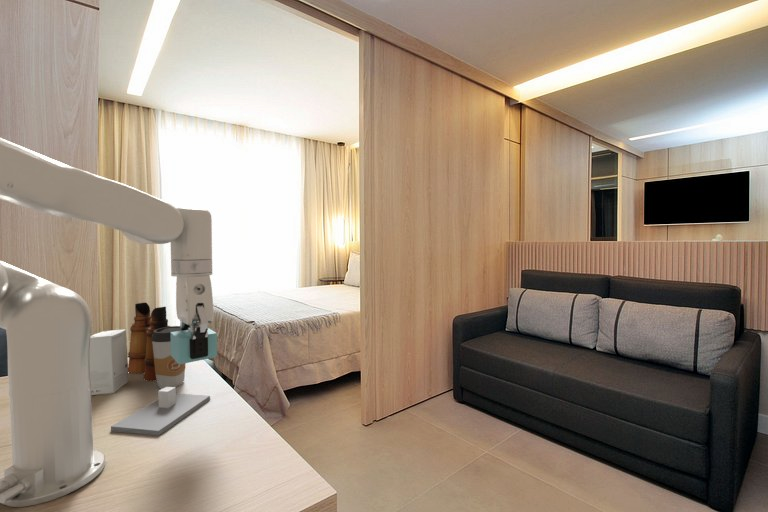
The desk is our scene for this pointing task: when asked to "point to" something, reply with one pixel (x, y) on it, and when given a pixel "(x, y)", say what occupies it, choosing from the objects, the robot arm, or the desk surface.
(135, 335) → the binoculars
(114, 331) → the skincare box
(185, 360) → the teal box
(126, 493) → the desk surface
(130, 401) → the desk surface
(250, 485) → the desk surface
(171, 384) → the coffee cup
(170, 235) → the robot arm
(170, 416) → the board
